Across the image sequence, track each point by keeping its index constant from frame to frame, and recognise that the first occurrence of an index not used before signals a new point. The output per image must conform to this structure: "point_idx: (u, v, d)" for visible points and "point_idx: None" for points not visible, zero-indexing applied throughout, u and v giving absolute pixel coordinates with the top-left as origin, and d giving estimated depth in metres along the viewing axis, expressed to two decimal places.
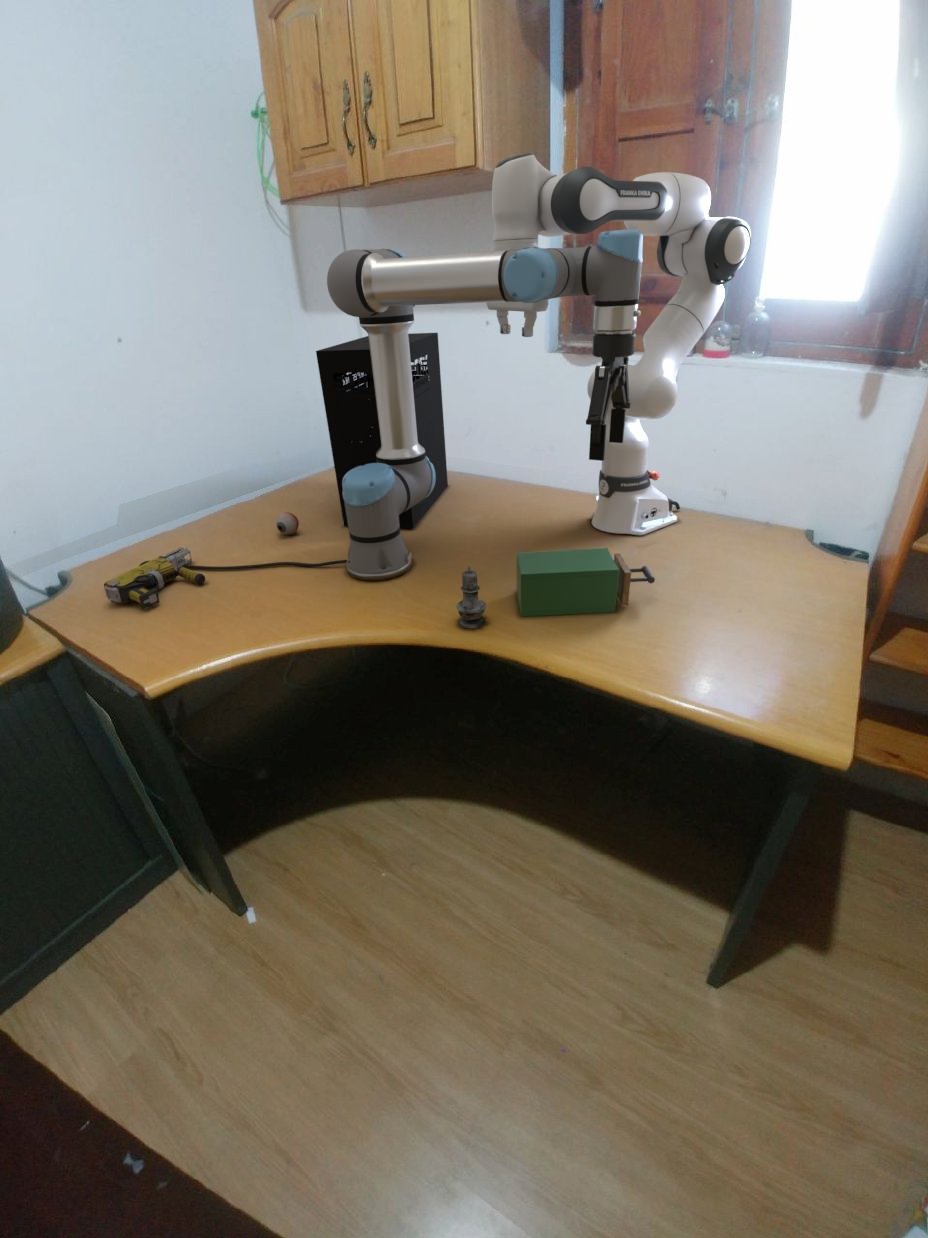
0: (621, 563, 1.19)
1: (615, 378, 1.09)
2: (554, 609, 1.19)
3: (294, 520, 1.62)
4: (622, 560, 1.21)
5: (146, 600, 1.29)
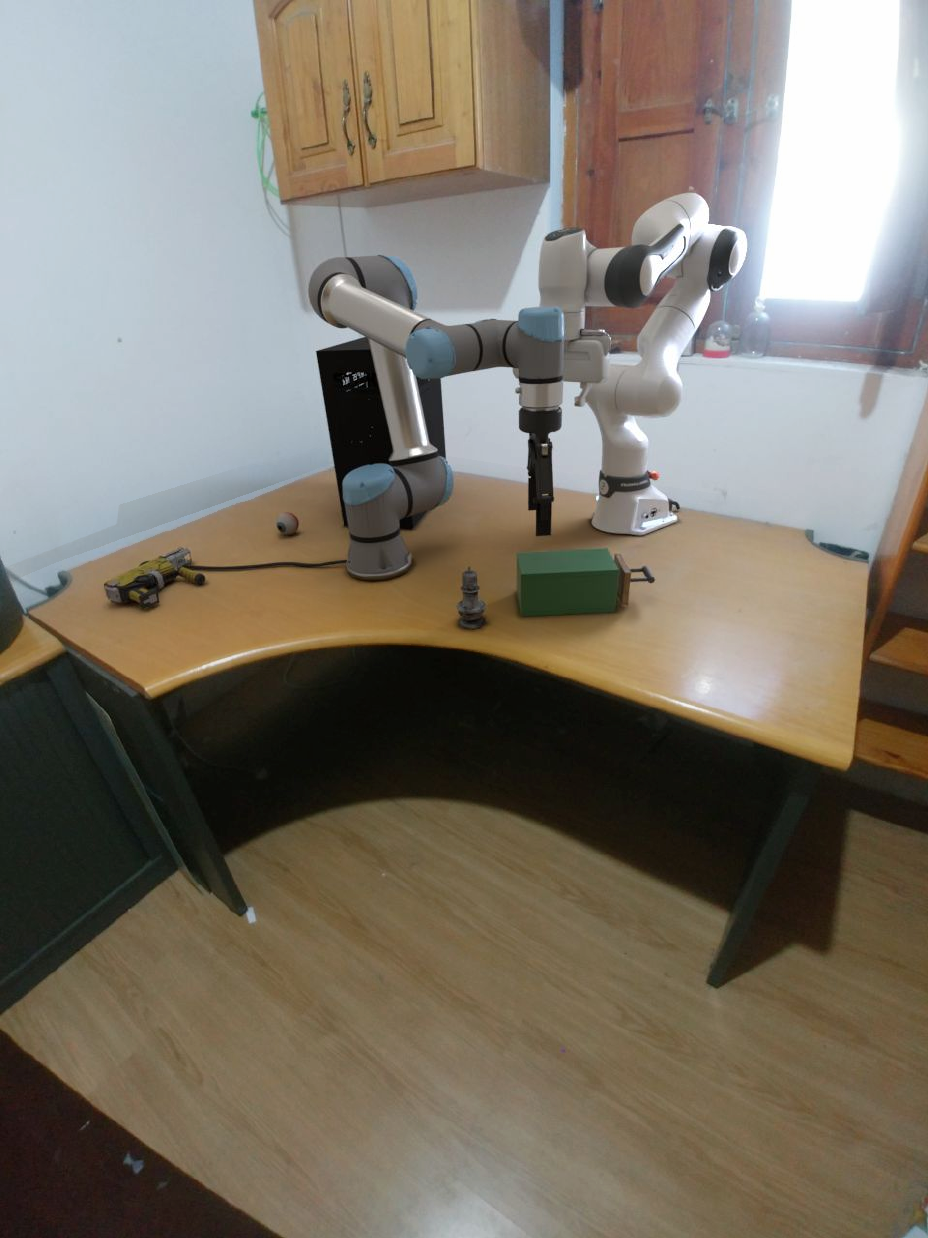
0: (621, 563, 1.19)
1: None
2: (554, 609, 1.19)
3: (294, 520, 1.62)
4: (622, 560, 1.21)
5: (146, 600, 1.29)
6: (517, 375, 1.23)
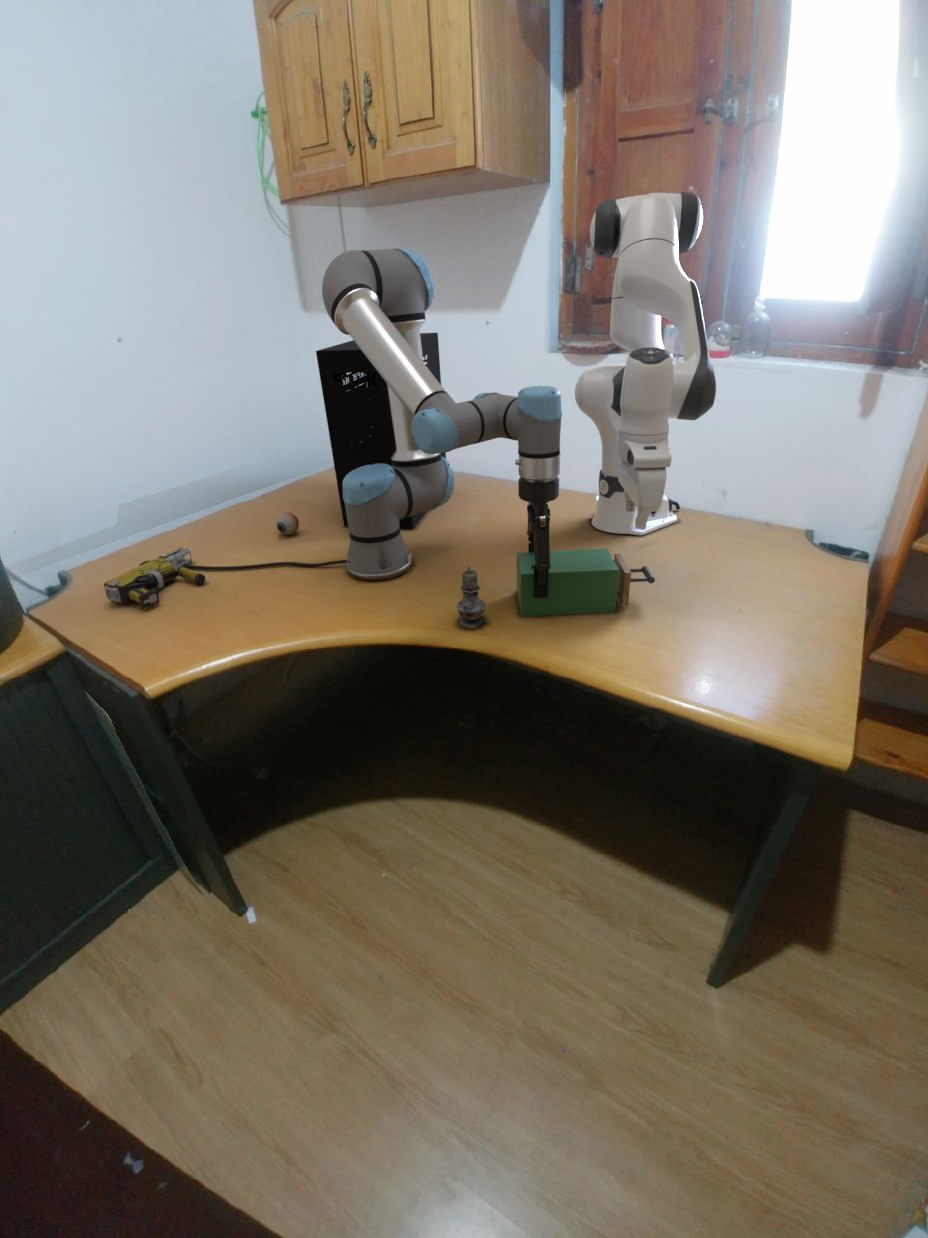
0: (621, 563, 1.19)
1: None
2: (554, 609, 1.19)
3: (294, 520, 1.62)
4: (622, 560, 1.21)
5: (146, 600, 1.29)
6: None
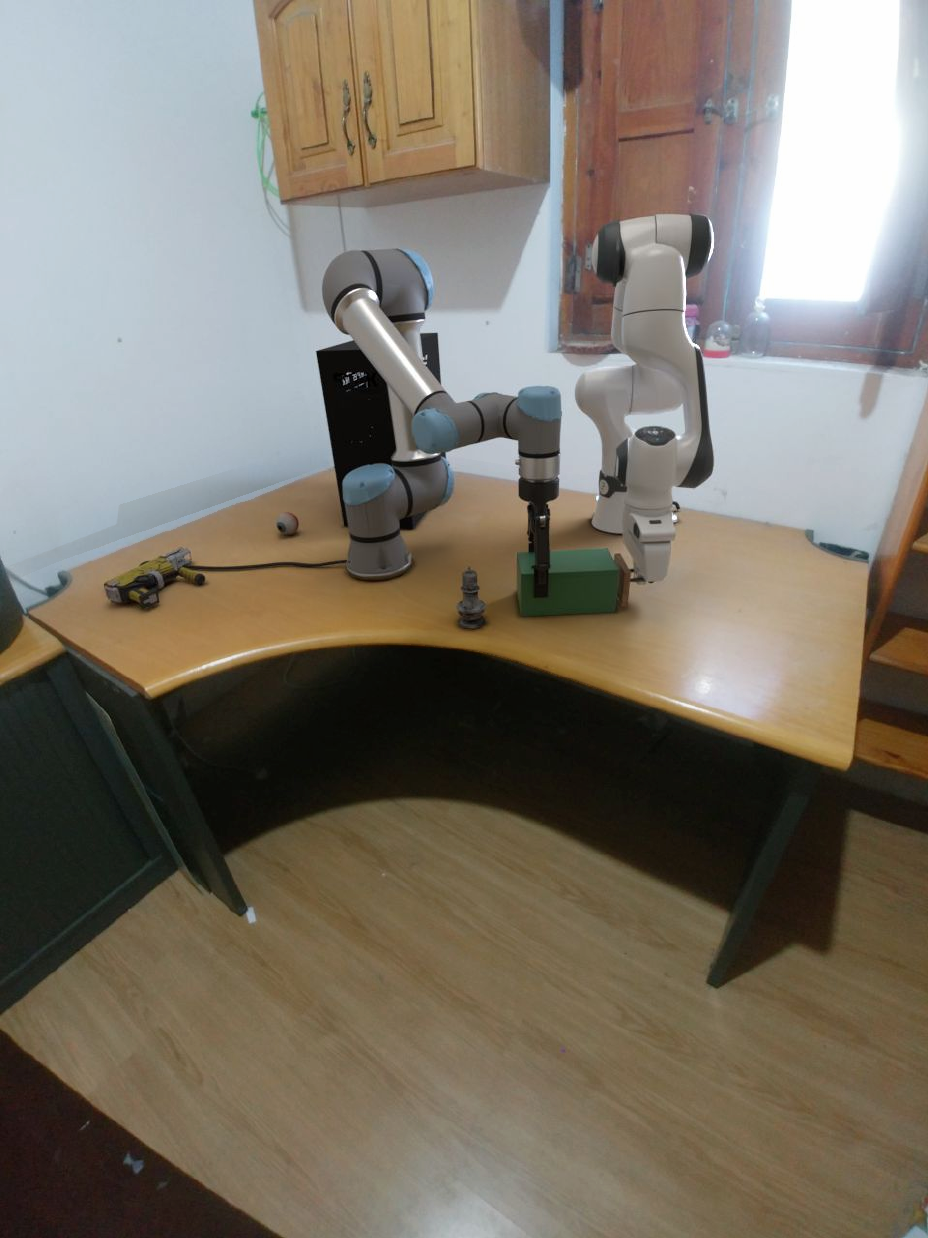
0: (621, 563, 1.19)
1: None
2: (554, 609, 1.19)
3: (294, 520, 1.62)
4: (622, 560, 1.21)
5: (146, 600, 1.29)
6: None
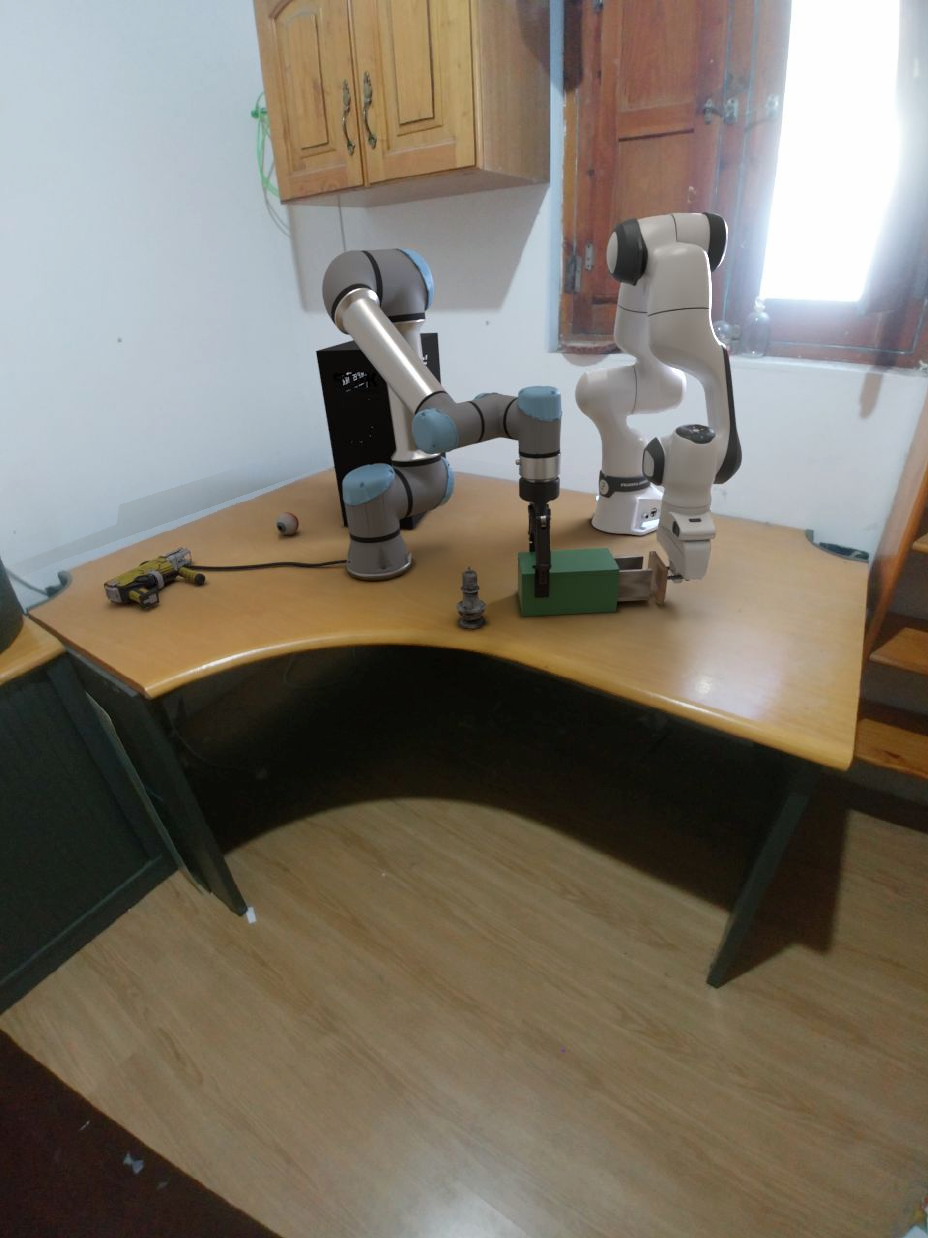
0: (657, 561, 1.19)
1: None
2: (555, 609, 1.19)
3: (294, 520, 1.62)
4: (658, 558, 1.20)
5: (146, 600, 1.29)
6: None
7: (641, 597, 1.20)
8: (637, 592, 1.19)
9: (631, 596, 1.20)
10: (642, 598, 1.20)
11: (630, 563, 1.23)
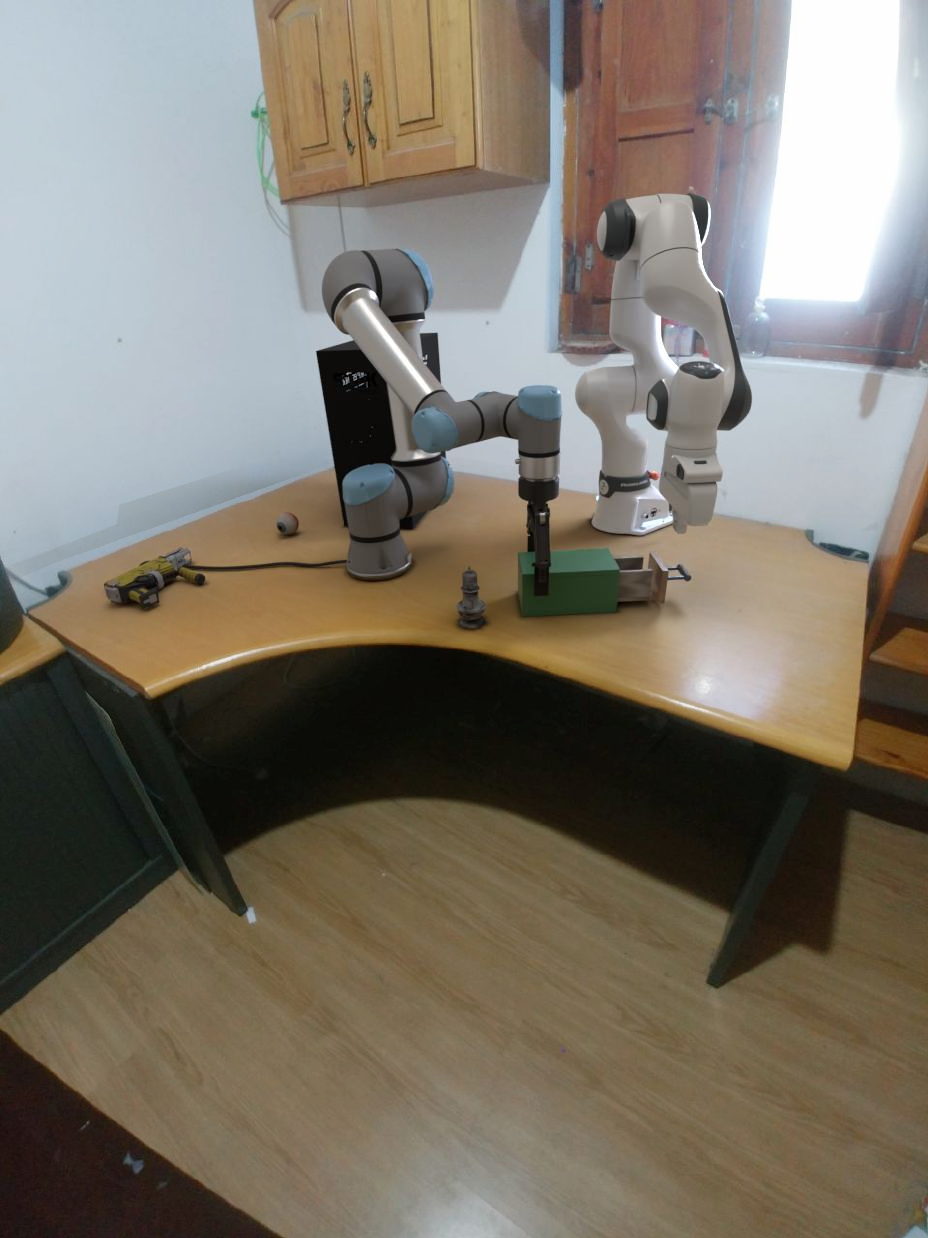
0: (657, 561, 1.19)
1: None
2: (555, 609, 1.19)
3: (294, 520, 1.62)
4: (658, 558, 1.21)
5: (146, 600, 1.29)
6: None
7: (641, 597, 1.20)
8: (637, 592, 1.19)
9: (631, 596, 1.20)
10: (642, 598, 1.20)
11: (631, 564, 1.23)
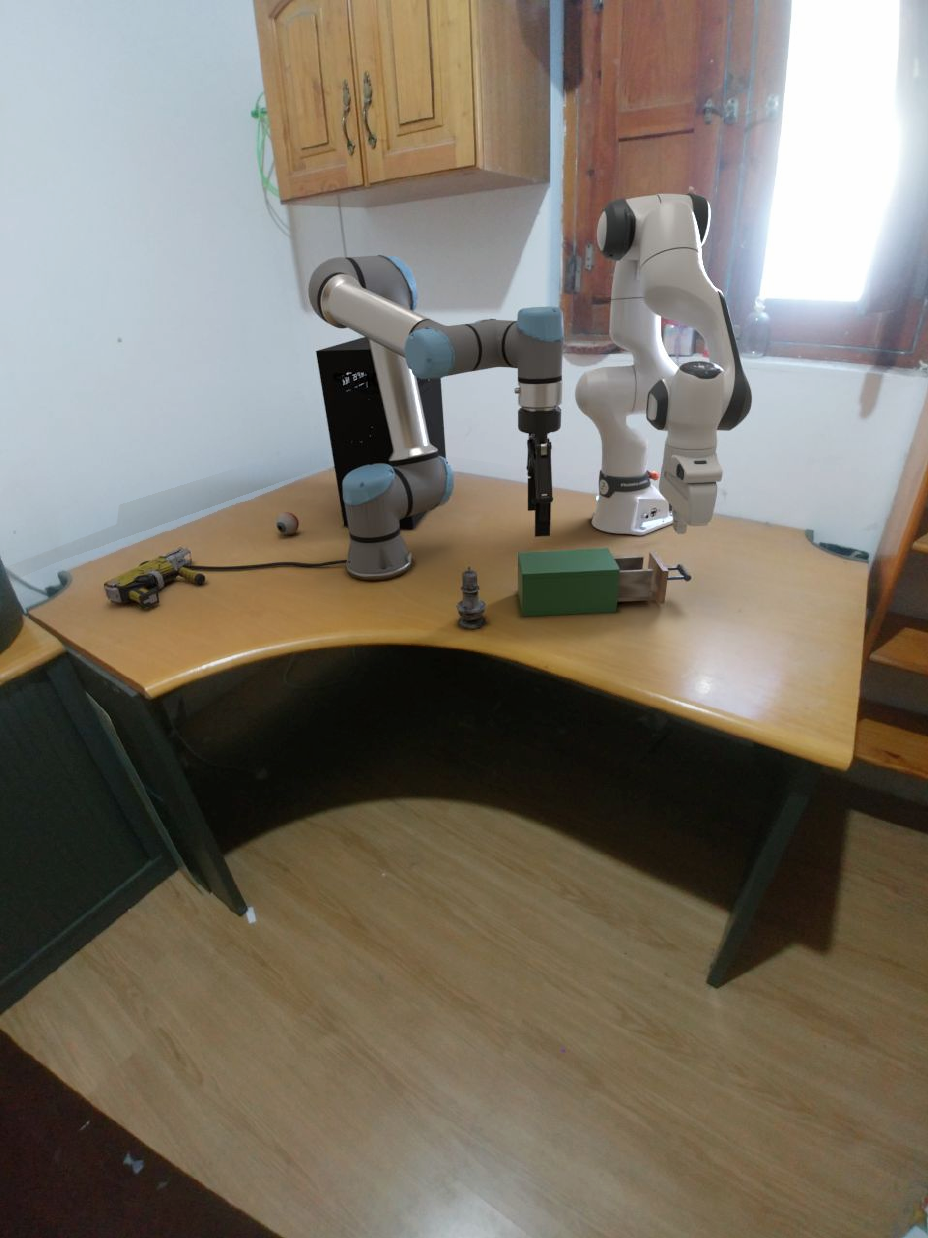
0: (657, 561, 1.19)
1: None
2: (555, 609, 1.19)
3: (294, 520, 1.62)
4: (658, 558, 1.21)
5: (146, 600, 1.29)
6: None
7: (641, 597, 1.20)
8: (637, 592, 1.19)
9: (631, 596, 1.20)
10: (642, 598, 1.20)
11: (631, 564, 1.23)
